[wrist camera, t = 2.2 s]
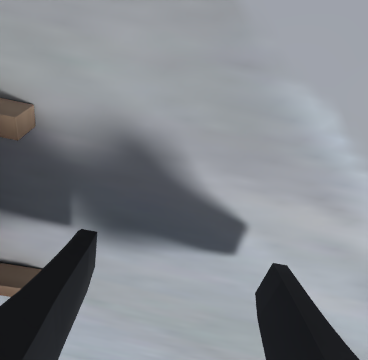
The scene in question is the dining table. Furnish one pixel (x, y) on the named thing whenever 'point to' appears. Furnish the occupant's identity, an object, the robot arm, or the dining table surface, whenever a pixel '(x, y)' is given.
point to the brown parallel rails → (15, 129)
